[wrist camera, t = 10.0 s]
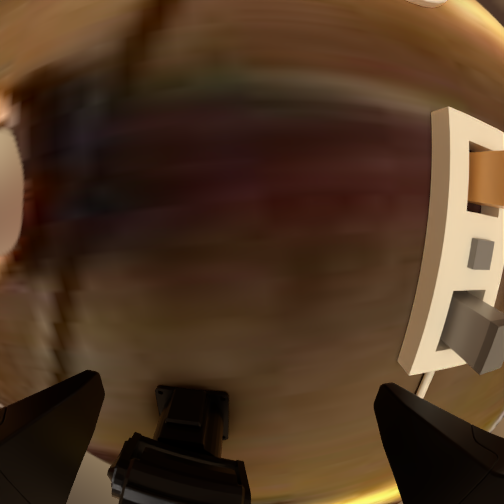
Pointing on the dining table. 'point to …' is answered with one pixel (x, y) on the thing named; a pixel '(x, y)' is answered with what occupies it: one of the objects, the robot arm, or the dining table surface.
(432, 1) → the decorative container
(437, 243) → the power strip
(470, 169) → the plug
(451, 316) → the twin plug
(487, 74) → the dining table surface
